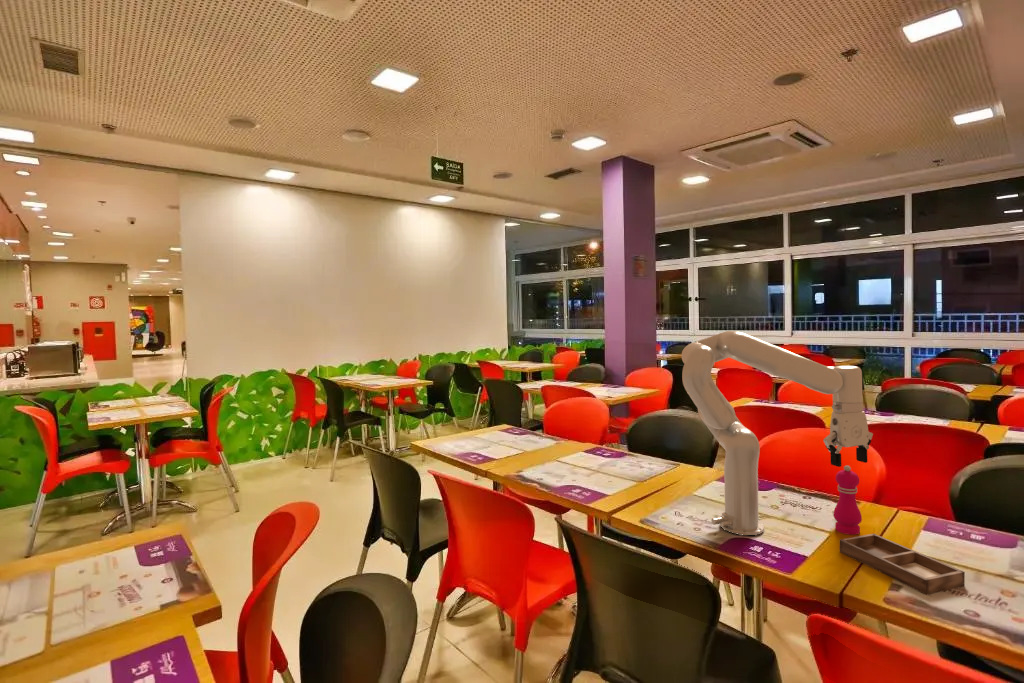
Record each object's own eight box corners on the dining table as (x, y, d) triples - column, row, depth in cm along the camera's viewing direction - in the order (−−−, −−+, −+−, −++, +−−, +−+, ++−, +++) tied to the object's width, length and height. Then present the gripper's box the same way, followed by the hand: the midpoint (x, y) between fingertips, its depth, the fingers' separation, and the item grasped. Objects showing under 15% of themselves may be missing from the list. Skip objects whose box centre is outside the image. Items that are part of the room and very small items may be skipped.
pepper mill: (867, 535, 155) (867, 468, 154) (842, 536, 155) (842, 469, 154) (852, 525, 162) (851, 461, 161) (828, 526, 162) (828, 462, 161)
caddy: (926, 594, 122) (926, 580, 122) (839, 552, 145) (839, 539, 145) (964, 586, 125) (964, 571, 125) (873, 545, 148) (873, 533, 148)
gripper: (835, 412, 151) (836, 470, 151) (882, 406, 155) (883, 463, 156) (813, 408, 158) (815, 464, 159) (859, 402, 162) (860, 457, 163)
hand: (849, 463), depth 157 cm, fingers open, 9 cm apart
